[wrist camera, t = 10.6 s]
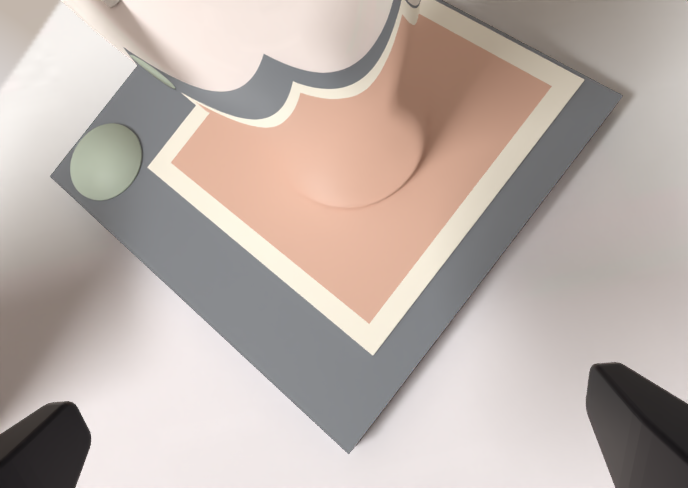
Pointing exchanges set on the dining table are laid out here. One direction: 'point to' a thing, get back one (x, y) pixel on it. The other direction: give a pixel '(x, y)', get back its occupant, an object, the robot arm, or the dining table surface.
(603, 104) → the grey picture frame
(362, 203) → the beer glass
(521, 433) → the dining table surface
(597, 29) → the dining table surface
